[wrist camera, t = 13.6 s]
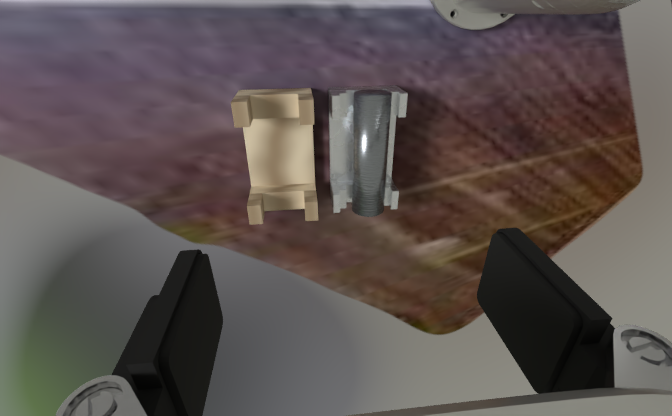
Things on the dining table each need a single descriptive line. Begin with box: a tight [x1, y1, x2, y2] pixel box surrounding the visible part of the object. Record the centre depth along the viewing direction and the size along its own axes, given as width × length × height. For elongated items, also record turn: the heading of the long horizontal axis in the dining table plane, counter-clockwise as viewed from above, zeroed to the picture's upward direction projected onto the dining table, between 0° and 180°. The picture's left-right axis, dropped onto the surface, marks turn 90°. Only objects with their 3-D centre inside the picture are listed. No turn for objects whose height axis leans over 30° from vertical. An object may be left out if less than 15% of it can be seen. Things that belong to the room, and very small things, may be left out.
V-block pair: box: [328, 86, 408, 213], centre depth 41 cm, size 8×14×4 cm, turn 0°
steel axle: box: [352, 89, 392, 217], centre depth 40 cm, size 4×14×4 cm, turn 1°
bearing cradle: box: [231, 88, 318, 225], centre depth 40 cm, size 8×14×6 cm, turn 0°
